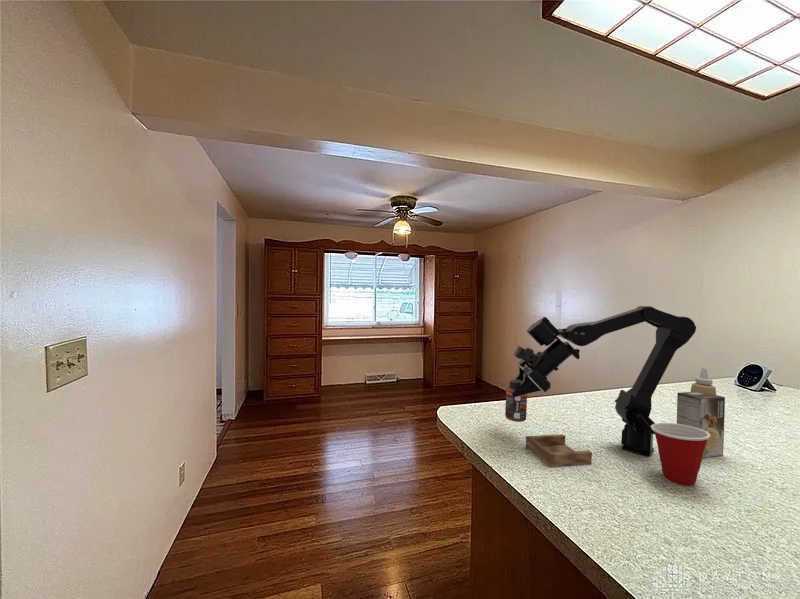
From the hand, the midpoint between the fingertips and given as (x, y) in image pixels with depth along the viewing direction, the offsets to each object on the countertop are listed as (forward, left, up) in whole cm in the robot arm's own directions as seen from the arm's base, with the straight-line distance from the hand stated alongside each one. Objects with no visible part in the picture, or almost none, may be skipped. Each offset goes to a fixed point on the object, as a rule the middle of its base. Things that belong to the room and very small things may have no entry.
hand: (511, 392), depth 102 cm
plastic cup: (-38, -8, -13) cm, 41 cm away
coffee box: (-40, -32, -13) cm, 53 cm away
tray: (-14, +1, -13) cm, 19 cm away
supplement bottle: (-1, -1, -8) cm, 8 cm away
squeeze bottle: (-38, -70, -13) cm, 81 cm away
